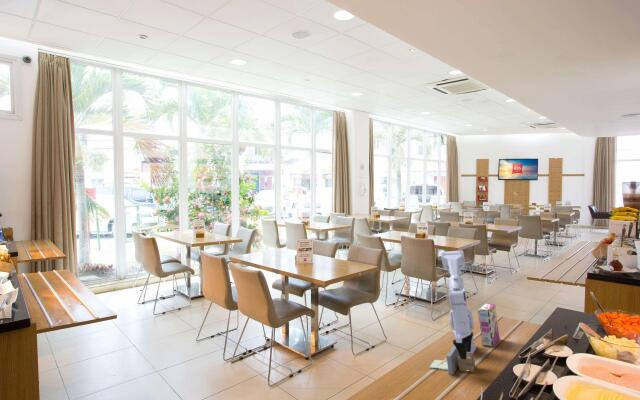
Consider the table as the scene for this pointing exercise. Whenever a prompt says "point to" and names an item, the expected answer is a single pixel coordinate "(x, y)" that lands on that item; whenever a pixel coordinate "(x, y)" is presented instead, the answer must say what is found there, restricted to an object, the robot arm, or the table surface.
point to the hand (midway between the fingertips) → (465, 355)
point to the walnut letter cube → (467, 363)
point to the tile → (442, 366)
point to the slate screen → (452, 360)
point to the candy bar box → (488, 324)
